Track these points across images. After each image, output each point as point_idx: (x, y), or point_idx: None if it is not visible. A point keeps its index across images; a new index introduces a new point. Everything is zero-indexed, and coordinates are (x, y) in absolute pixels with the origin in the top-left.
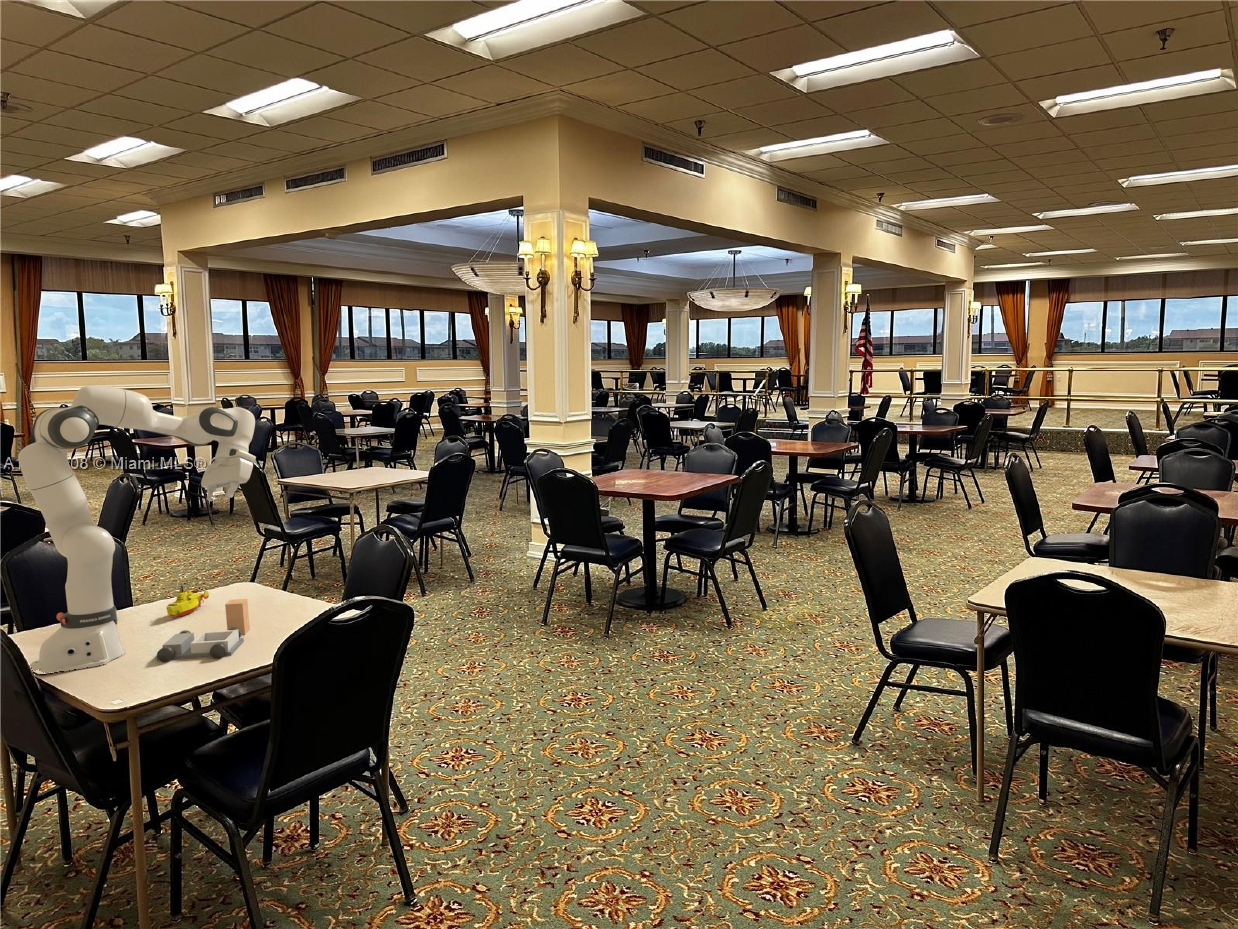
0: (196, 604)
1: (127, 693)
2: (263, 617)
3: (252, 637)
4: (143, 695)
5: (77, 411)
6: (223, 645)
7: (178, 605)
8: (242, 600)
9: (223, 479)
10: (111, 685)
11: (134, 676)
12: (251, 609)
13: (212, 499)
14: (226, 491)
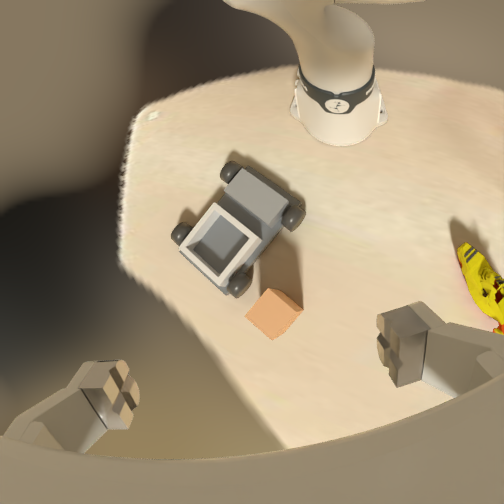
0: (482, 308)
1: (165, 124)
2: (337, 383)
3: (236, 315)
4: (146, 136)
5: None
6: (174, 239)
7: (466, 265)
8: (266, 327)
9: (83, 472)
10: (203, 112)
11: (211, 135)
12: (408, 389)
13: (381, 341)
14: (99, 383)
